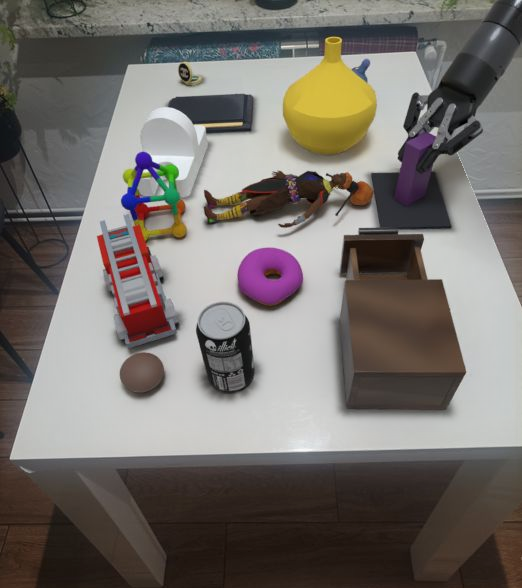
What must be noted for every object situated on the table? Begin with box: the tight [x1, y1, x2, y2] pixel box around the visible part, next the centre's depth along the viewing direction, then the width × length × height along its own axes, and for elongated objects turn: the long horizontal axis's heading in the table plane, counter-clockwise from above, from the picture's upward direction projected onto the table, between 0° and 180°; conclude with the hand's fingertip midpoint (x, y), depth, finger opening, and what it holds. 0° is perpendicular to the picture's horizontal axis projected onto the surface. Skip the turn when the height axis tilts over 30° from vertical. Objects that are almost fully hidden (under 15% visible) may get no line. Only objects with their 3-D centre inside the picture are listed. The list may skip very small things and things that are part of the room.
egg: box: [119, 351, 165, 393], centre depth 65 cm, size 6×6×4 cm
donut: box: [236, 247, 304, 307], centre depth 74 cm, size 10×10×5 cm
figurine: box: [203, 170, 374, 229], centre depth 85 cm, size 16×8×30 cm
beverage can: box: [195, 301, 255, 392], centre depth 61 cm, size 7×7×12 cm
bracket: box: [137, 106, 209, 199], centre depth 92 cm, size 19×10×11 cm, turn 172°
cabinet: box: [339, 278, 467, 410], centre depth 62 cm, size 15×13×9 cm
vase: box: [282, 36, 378, 156], centre depth 91 cm, size 18×18×19 cm
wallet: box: [167, 93, 255, 134], centre depth 107 cm, size 20×2×15 cm
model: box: [120, 151, 188, 242], centre depth 80 cm, size 11×10×15 cm
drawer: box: [339, 227, 428, 280], centre depth 70 cm, size 18×12×7 cm, turn 178°
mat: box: [370, 171, 453, 230], centre depth 86 cm, size 12×16×1 cm
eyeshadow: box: [177, 61, 203, 86], centre depth 116 cm, size 4×5×5 cm
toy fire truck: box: [96, 213, 180, 349], centre depth 71 cm, size 9×19×10 cm, turn 20°
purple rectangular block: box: [394, 132, 437, 207], centre depth 82 cm, size 5×3×11 cm, turn 128°
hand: (409, 165), depth 80 cm, fingers open, 3 cm apart
